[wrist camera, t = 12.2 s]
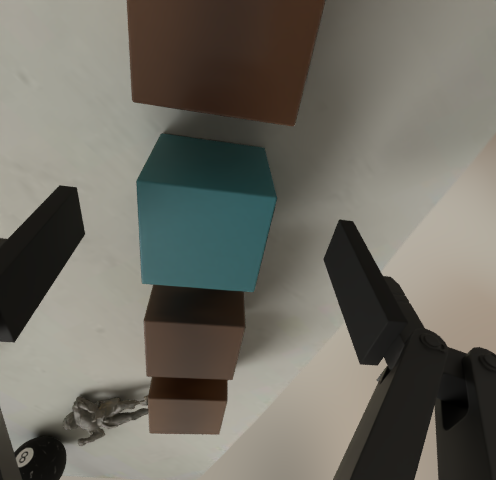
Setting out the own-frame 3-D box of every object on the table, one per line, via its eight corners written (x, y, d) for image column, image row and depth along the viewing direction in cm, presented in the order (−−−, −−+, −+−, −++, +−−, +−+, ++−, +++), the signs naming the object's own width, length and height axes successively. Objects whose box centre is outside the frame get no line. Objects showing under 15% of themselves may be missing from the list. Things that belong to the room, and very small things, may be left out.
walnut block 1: (306, -60, 13) (350, -97, 8) (276, 92, 17) (295, 127, 12) (156, -96, 12) (111, -159, 8) (157, 72, 16) (127, 102, 11)
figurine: (170, 435, 33) (66, 467, 34) (177, 404, 36) (83, 434, 37) (144, 391, 31) (35, 426, 32) (154, 364, 34) (56, 396, 35)
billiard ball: (36, 450, 42) (11, 508, 37) (12, 430, 38) (-20, 492, 33) (81, 446, 42) (62, 503, 37) (60, 426, 38) (36, 487, 33)
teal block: (264, 147, 19) (277, 197, 14) (248, 230, 22) (254, 292, 17) (158, 132, 18) (131, 179, 13) (158, 220, 21) (138, 284, 16)
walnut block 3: (227, 335, 29) (227, 401, 24) (220, 371, 33) (219, 434, 28) (159, 331, 28) (145, 398, 23) (159, 368, 32) (147, 433, 27)
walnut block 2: (242, 262, 24) (245, 327, 19) (231, 314, 27) (232, 380, 22) (159, 254, 23) (140, 320, 18) (159, 309, 26) (144, 376, 22)
